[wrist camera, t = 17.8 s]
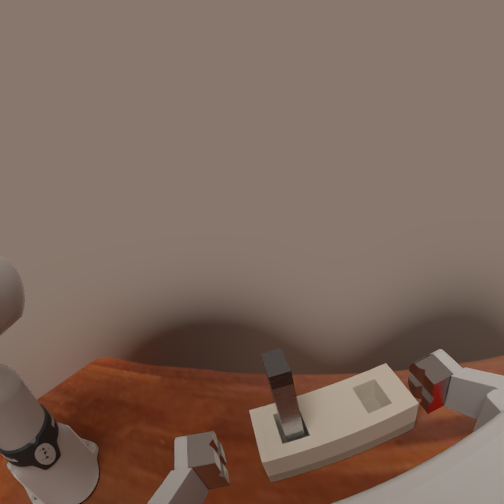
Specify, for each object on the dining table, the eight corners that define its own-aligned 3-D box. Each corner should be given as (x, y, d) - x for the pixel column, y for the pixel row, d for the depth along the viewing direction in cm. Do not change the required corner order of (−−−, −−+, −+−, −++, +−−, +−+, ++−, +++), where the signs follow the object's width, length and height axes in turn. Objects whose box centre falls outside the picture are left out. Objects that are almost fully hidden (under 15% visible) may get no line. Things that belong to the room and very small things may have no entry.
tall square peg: (307, 448, 39) (291, 370, 33) (290, 454, 38) (268, 377, 33) (299, 426, 43) (281, 347, 37) (282, 431, 43) (260, 353, 37)
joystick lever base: (270, 482, 36) (262, 462, 34) (257, 433, 46) (249, 410, 43) (413, 428, 38) (418, 403, 36) (385, 388, 47) (386, 363, 45)
